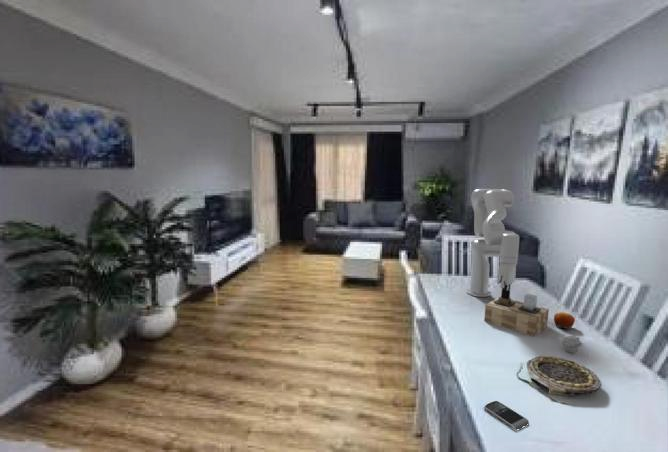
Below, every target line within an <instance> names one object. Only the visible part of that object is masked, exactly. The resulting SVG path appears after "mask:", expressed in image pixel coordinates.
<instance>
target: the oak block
mask: <svg viewBox="0 0 668 452" xmlns="http://www.w3.org/2000/svg"><path fill="white" fill-rule="evenodd" d="M499 297H500V296H499ZM499 297H497V298H495V299H493V300H492V301H490V302H488V303H485V308H484V319H483V320H484V322H487V323H490V324H493V325H497V326H500V327H503V328H507V329H509V330H513V331H516V332H519V333H523V334H526V335H529V336H532V337H536V336H538V334H539V333H541V331H543V330H544V329H545V328H546V327H547V326H548V319H549V309H548V308H546V307H542V306H539V305H538V306H537V305H536V310H534V311H530V310H527V309H523V306H524V302H521V301H519V300H515V299H511V303H509V304H504V303H500V302H499Z"/></svg>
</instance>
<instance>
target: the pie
mask: <svg viewBox="0 0 668 452" xmlns="http://www.w3.org/2000/svg"><path fill="white" fill-rule="evenodd" d="M522 362H523V361H521V362H520V363H519V365H520V367H519V369H518V371H517V373H516V376H517V378H520V376H519V375H520V374H521V373H520V372H522V370H524V369H523V365H524V363H523V364H522ZM521 369H522V370H521ZM526 369H527V372H528V375H529V380H530V381H529V380H527V379H524V378H521V380H522V381H526V382H528V385H530V386H531V387H533V388H534V389H537V390H538V389H541V386H539V385H538V384H537V383H540V384H541V385H543V386H545V387H547V388H548V389H549V391H548V392H547V393H548V394H547V395H548V397H549V398H550V399H551V400H552V401H555V402H557V400H555V398H552V397H551V395H558V394H559V396H570V395H572V396H573V395H577V396H579V395H583V394H584V395H585V394H586V395H587V394H592V393H594V392H597V391H599V390H601V387H602V382H601V379H600V377H599V376H598V375H597V374H595V372H594V371H592V370H591V369H589V368H587V367H585V366H584V365H580V364H579V363H576V362H575V361H573V360H569V359H565V358H561V357H557V356H551V355H538V356H536V357H533V358H532V359H529V360H528V361H527V362H526ZM519 373H520V374H519ZM518 374H519V375H518ZM535 381H537V383H536V382H535ZM549 394H550V395H549ZM558 403H560V404H561V402H559V401H558ZM563 404H565V405H568V406H569V404H566V403H564V402H563Z"/></svg>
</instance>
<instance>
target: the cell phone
mask: <svg viewBox="0 0 668 452" xmlns="http://www.w3.org/2000/svg"><path fill="white" fill-rule="evenodd" d="M483 409H484V411H486V410H487V411H488V412H487V411H486V412H487V413H489V414H490V413H491V414H490V415H491V416H493V415H494V418H496V417H497V418H496V419H498V420H499V419H500V420H501V421H500V420H499V421H500V422H502V421H503V422H504V424H505V423H506V424H507V425H506V424H505V425H506V426H508V425H509V426H510V427H509V426H508V427H509V428H511V427H512V428H513V429H512V428H511V429H512V430H514V429H516V430H515V431H517V429H520V428H522V427H523V426H526V425H527V424H528V425H529V423H530V422H529V420H528V419H527V418H526V417H524V416H523V415H521V414H519V413H518V412H517V411H515V410H513V409H512V408H510V407H508V406H507V405H505V404H503V403H502V402H500V401H498V400H493V401H490V402H488V403H486V404H484V405H483ZM503 422H502V423H503ZM528 425H527V426H528ZM527 426H526V427H527ZM522 429H523V428H522ZM520 430H521V429H520Z"/></svg>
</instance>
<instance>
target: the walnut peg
mask: <svg viewBox="0 0 668 452" xmlns="http://www.w3.org/2000/svg"><path fill="white" fill-rule="evenodd" d="M511 300H512V297H510V298H509V299H505V298H501V296H499V302H500V303H504V304H509V303H511Z"/></svg>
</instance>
